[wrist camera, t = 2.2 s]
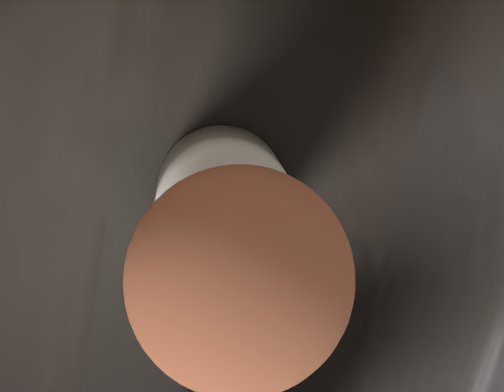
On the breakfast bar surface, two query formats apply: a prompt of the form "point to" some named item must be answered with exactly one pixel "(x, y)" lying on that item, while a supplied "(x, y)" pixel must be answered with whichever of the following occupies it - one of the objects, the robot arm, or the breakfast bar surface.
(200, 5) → the breakfast bar surface
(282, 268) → the ball
